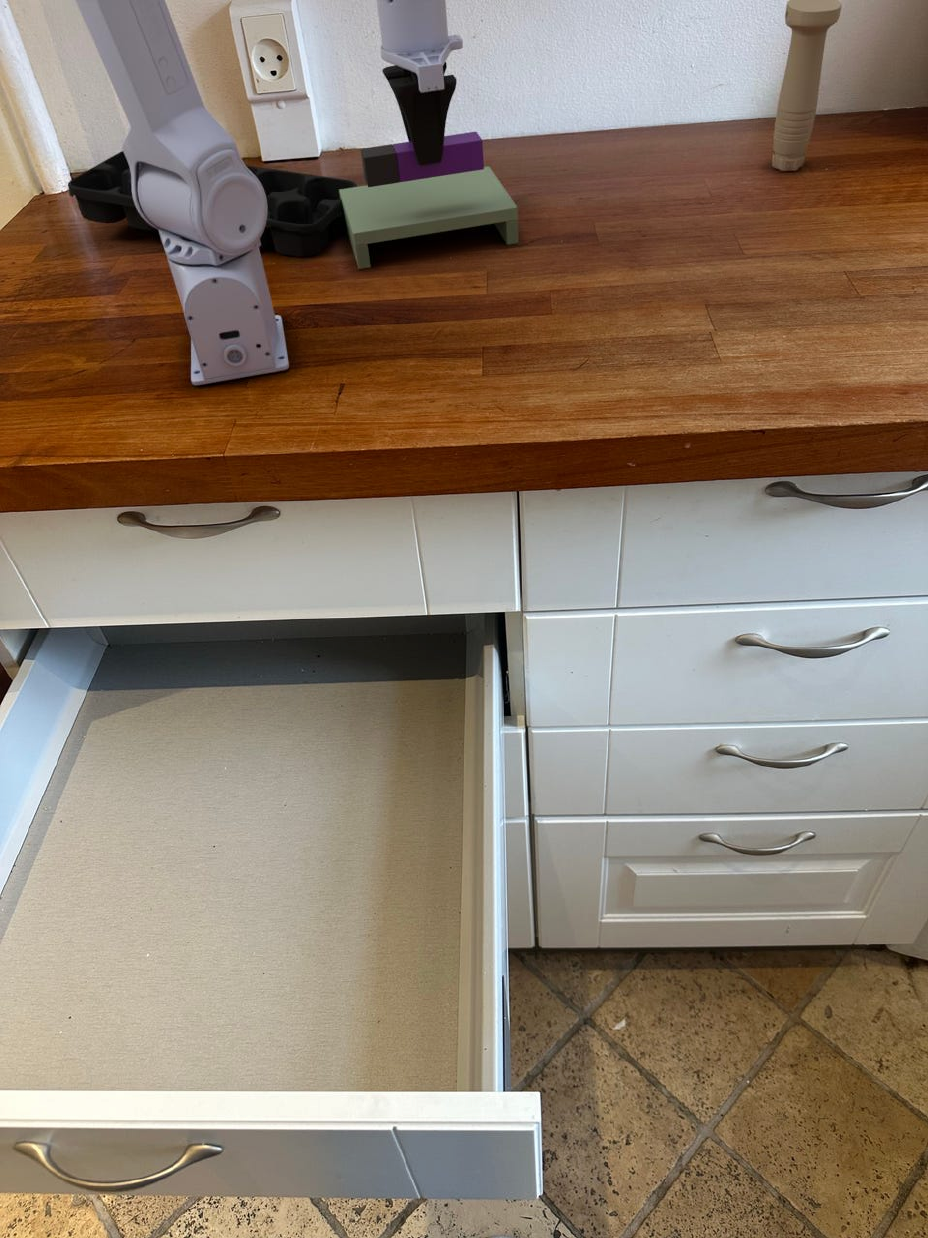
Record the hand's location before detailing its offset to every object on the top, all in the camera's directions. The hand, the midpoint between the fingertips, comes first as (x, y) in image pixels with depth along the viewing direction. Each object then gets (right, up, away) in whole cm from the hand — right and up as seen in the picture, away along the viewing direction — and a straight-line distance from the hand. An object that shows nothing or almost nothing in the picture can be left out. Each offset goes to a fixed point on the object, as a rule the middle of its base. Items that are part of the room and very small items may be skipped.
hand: (426, 157), depth 85 cm
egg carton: (-23, 0, +13) cm, 27 cm away
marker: (0, -1, +1) cm, 1 cm away
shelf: (0, -3, +9) cm, 9 cm away
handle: (+38, +6, +14) cm, 41 cm away
